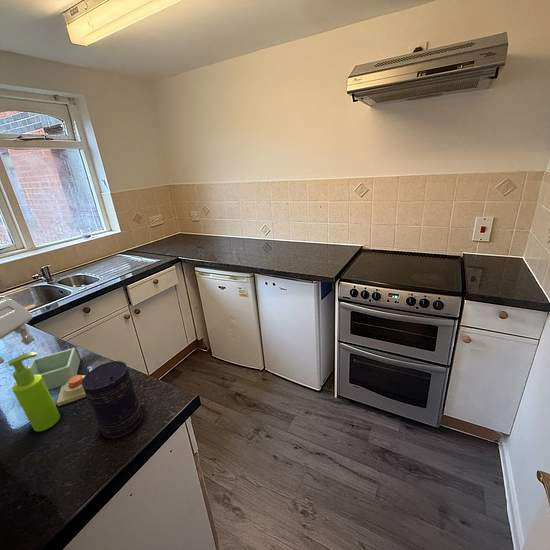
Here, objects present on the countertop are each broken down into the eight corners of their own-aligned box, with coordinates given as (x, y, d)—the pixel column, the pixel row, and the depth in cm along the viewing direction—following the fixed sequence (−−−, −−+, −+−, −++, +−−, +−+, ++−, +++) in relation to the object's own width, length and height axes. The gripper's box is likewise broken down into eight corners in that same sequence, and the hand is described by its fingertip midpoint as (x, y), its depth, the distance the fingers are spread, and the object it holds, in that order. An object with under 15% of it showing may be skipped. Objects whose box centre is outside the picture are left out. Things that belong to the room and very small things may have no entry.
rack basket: (29, 396, 89) (21, 381, 87) (39, 373, 99) (32, 359, 97) (75, 381, 93) (68, 366, 91) (80, 361, 103) (74, 347, 101)
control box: (57, 406, 83) (53, 398, 82) (63, 389, 90) (59, 381, 89) (97, 392, 87) (94, 384, 86) (99, 376, 94) (96, 369, 93)
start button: (68, 389, 86) (66, 385, 85) (70, 382, 89) (68, 377, 88) (83, 385, 87) (81, 380, 86) (84, 377, 90) (82, 373, 89)
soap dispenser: (67, 418, 79) (37, 355, 72) (35, 435, 75) (0, 370, 67) (62, 407, 83) (33, 347, 76) (31, 423, 79) (-2, 360, 71)
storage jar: (93, 428, 75) (72, 381, 69) (128, 401, 82) (112, 356, 77) (116, 444, 70) (95, 394, 64) (151, 414, 77) (135, 367, 72)
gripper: (-6, 300, 77) (38, 337, 81) (-96, 342, 58) (-32, 388, 61) (10, 286, 76) (54, 324, 80) (-75, 323, 57) (-12, 371, 60)
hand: (16, 352), depth 70 cm, fingers open, 8 cm apart
